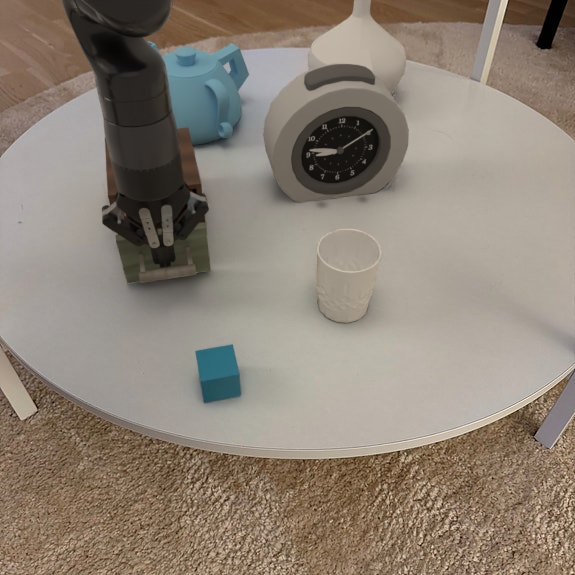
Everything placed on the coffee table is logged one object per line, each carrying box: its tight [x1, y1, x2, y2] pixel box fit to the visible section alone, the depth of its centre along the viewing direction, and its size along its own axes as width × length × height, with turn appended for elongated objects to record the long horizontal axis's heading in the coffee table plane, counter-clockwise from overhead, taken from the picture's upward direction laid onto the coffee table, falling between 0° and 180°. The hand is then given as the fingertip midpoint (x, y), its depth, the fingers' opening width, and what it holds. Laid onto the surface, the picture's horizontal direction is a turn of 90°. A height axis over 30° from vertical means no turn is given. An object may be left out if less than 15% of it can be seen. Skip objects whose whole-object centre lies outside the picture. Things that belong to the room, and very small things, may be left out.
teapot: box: [147, 40, 250, 146], centre depth 106 cm, size 19×19×14 cm
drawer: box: [115, 189, 212, 285], centre depth 82 cm, size 18×11×8 cm, turn 13°
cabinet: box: [104, 128, 208, 233], centre depth 90 cm, size 15×13×10 cm
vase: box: [307, 0, 407, 95], centre depth 111 cm, size 18×18×19 cm
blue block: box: [194, 343, 242, 404], centre depth 70 cm, size 4×4×4 cm
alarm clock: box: [262, 64, 410, 203], centre depth 92 cm, size 21×8×20 cm, turn 102°
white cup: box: [316, 228, 383, 324], centre depth 77 cm, size 8×8×10 cm
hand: (165, 262), depth 77 cm, fingers closed
